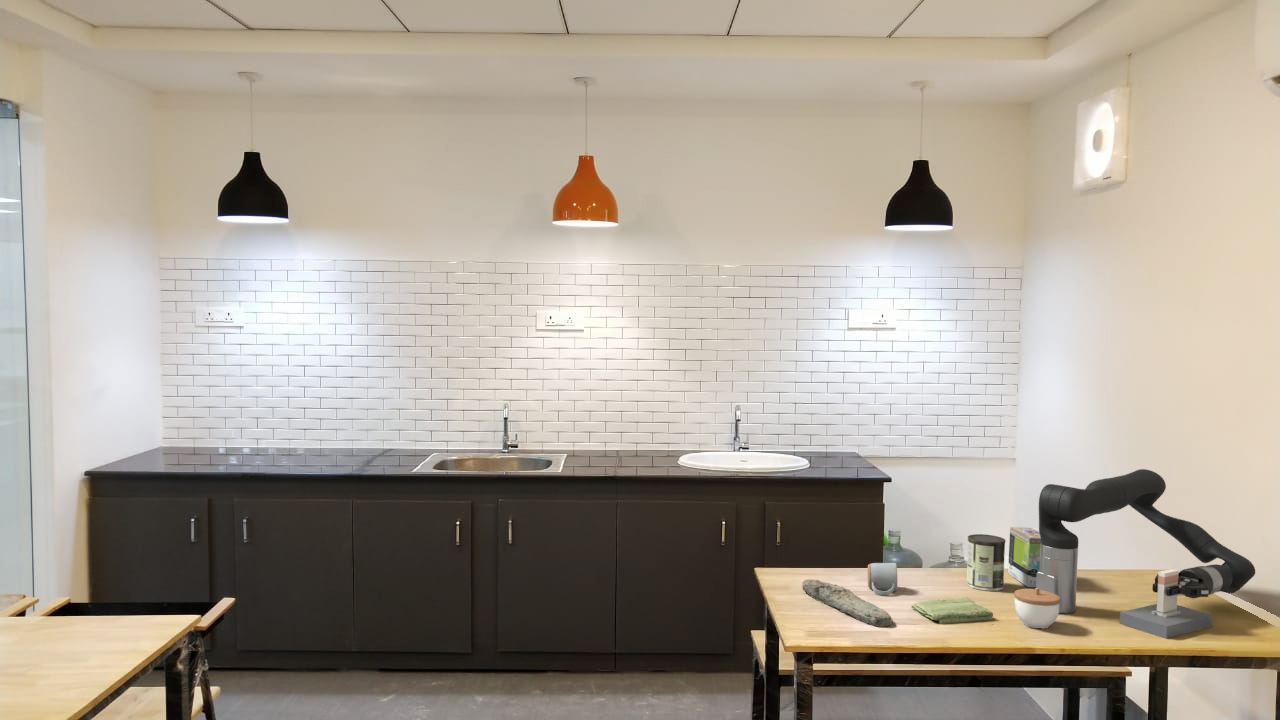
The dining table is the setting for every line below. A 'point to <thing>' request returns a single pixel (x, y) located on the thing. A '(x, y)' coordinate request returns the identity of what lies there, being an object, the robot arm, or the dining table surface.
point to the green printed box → (1024, 554)
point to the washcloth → (953, 610)
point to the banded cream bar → (1163, 601)
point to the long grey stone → (847, 602)
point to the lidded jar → (1036, 607)
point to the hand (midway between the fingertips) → (1161, 589)
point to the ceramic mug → (882, 577)
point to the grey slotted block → (1166, 620)
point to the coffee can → (985, 562)
